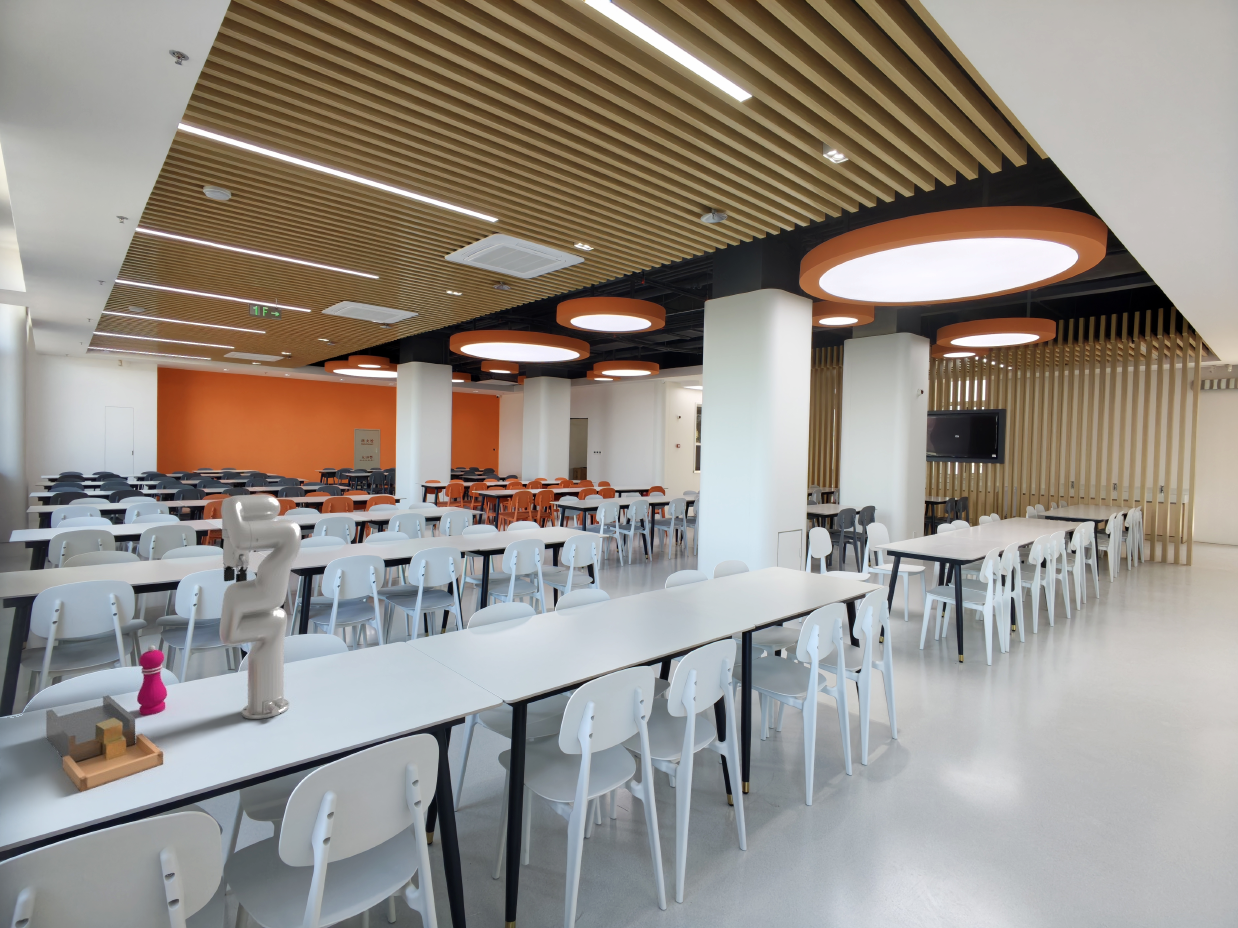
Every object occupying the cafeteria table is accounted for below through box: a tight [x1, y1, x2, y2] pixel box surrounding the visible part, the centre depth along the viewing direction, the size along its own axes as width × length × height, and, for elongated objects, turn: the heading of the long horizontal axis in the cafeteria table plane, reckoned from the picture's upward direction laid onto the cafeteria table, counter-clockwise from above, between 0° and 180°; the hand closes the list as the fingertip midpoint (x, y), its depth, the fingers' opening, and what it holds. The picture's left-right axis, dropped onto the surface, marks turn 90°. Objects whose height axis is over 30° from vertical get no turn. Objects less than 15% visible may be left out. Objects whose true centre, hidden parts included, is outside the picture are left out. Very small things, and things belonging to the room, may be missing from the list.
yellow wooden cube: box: [102, 735, 126, 761], centre depth 158 cm, size 4×4×4 cm
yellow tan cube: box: [95, 718, 123, 744], centre depth 158 cm, size 4×4×4 cm
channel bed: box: [45, 695, 136, 763], centre depth 165 cm, size 24×13×8 cm, turn 53°
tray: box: [62, 733, 164, 793], centre depth 153 cm, size 16×16×3 cm
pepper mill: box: [136, 645, 168, 716], centre depth 184 cm, size 7×7×20 cm
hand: (235, 582), depth 210 cm, fingers open, 9 cm apart
